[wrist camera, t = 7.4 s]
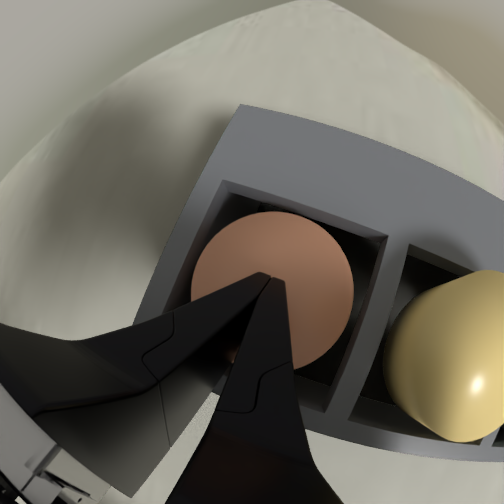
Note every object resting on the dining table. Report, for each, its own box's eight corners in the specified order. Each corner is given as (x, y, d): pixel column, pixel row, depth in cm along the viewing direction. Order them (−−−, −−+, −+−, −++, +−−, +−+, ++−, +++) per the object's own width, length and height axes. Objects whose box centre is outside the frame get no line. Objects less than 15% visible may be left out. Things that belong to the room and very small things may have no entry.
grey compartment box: (490, 433, 12) (554, 458, 5) (191, 341, 17) (124, 345, 9) (529, 292, 14) (596, 271, 7) (259, 183, 19) (240, 104, 11)
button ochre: (465, 427, 8) (505, 446, 5) (360, 403, 9) (385, 428, 6) (502, 307, 9) (547, 297, 6) (407, 267, 10) (444, 245, 7)
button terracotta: (311, 380, 11) (317, 396, 8) (195, 332, 12) (167, 332, 9) (354, 263, 12) (373, 242, 9) (242, 223, 13) (228, 193, 10)
